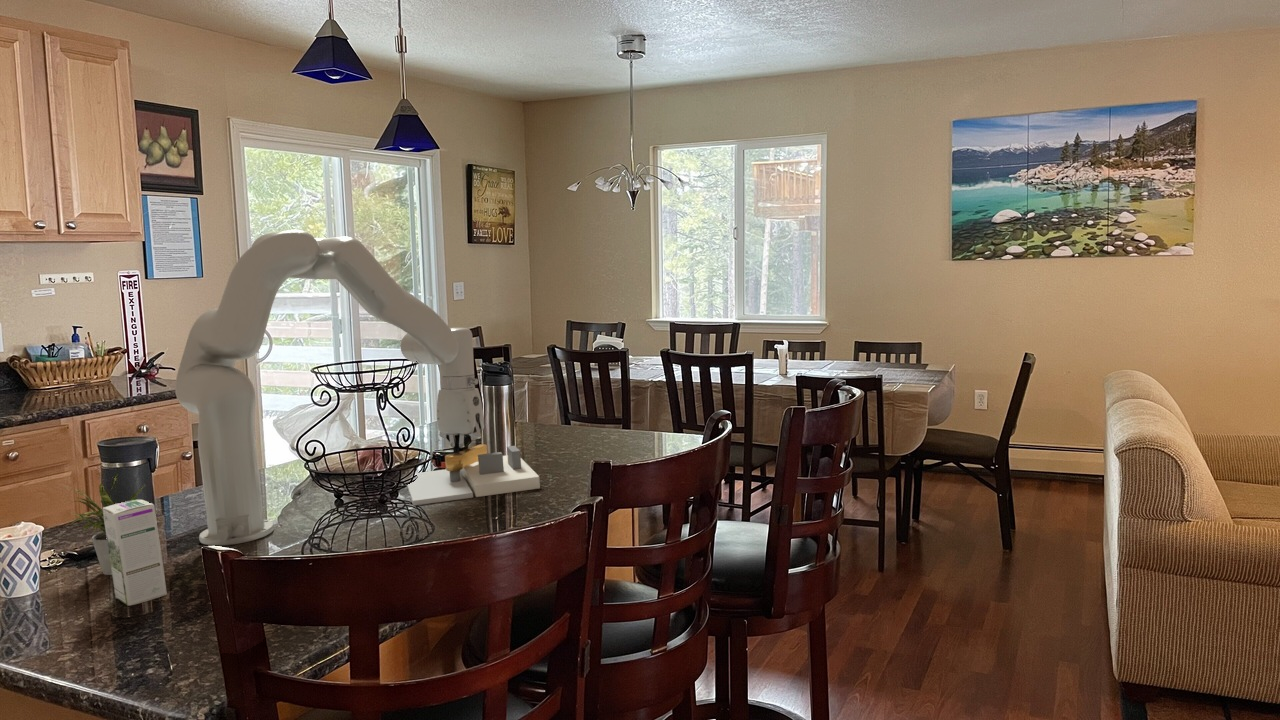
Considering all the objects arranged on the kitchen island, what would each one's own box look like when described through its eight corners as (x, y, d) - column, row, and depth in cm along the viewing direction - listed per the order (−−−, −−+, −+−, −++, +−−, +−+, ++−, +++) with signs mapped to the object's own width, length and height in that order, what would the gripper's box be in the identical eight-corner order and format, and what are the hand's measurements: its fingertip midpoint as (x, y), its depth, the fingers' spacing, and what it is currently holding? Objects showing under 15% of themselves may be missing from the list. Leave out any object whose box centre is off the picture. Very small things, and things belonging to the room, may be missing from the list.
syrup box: (168, 594, 135) (157, 502, 133) (126, 607, 131) (113, 512, 129) (154, 586, 139) (143, 497, 137) (112, 599, 134) (100, 506, 133)
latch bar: (456, 471, 189) (454, 457, 189) (442, 470, 191) (441, 456, 190) (491, 457, 200) (490, 444, 200) (477, 456, 202) (477, 444, 202)
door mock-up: (540, 488, 186) (538, 458, 185) (413, 505, 177) (410, 474, 177) (517, 464, 208) (515, 437, 207) (404, 478, 200) (401, 450, 199)
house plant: (56, 571, 149) (43, 476, 147) (146, 549, 158) (135, 459, 156) (78, 591, 138) (65, 489, 137) (173, 565, 148) (161, 470, 146)
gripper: (495, 382, 198) (498, 462, 199) (441, 380, 204) (445, 458, 206) (474, 386, 191) (478, 469, 193) (420, 384, 197) (424, 465, 199)
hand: (461, 463), depth 199 cm, fingers closed
